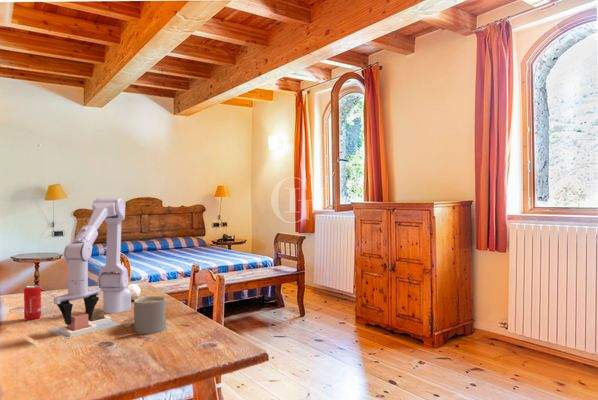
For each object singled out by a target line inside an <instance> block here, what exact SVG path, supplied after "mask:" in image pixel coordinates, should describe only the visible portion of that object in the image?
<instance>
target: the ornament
mask: <svg viewBox="0 0 598 400" xmlns="http://www.w3.org/2000/svg"><path fill="white" fill-rule="evenodd" d="M126 288H128V289H129V291H130V293H131V302H132V300H136V299H138V298H140V296H141V292H142V291H141V287H139V285H138V283H137V282H136V281H135V282H134V281H132V283H130V284H129V283H128V285H127V287H126Z"/></svg>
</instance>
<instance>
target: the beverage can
mask: <svg viewBox="0 0 598 400" xmlns="http://www.w3.org/2000/svg"><path fill="white" fill-rule="evenodd" d="M23 314H24V315H23V316H24V317H23V318H24V320H25V321H26V322H30V321H35V320H36V321H37V320H39V319H40V318H41V316H42V288H41V285H40V284H39V285H38V284H33V285H32V284H31V285H27V286H25V287H24V289H23Z"/></svg>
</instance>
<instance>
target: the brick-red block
mask: <svg viewBox="0 0 598 400" xmlns="http://www.w3.org/2000/svg"><path fill="white" fill-rule="evenodd" d="M66 325H67V324H66ZM88 327H89V324H88V314H86V313H85V312H81V311H80V312H77V313H71V324H70V325H67V329H69V330H71V331H75V330H80V329H84V328H88Z"/></svg>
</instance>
